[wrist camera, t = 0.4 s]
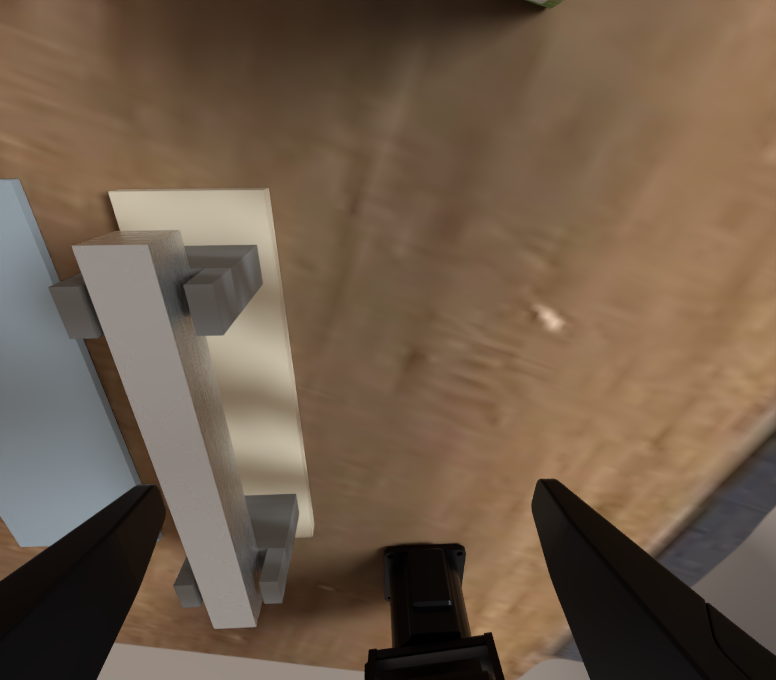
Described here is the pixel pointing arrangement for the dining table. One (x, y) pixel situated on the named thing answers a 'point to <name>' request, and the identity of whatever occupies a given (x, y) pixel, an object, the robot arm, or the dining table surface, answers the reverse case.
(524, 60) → the dining table surface
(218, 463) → the rail
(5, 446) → the mat
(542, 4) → the syrup box
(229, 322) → the rail stand
